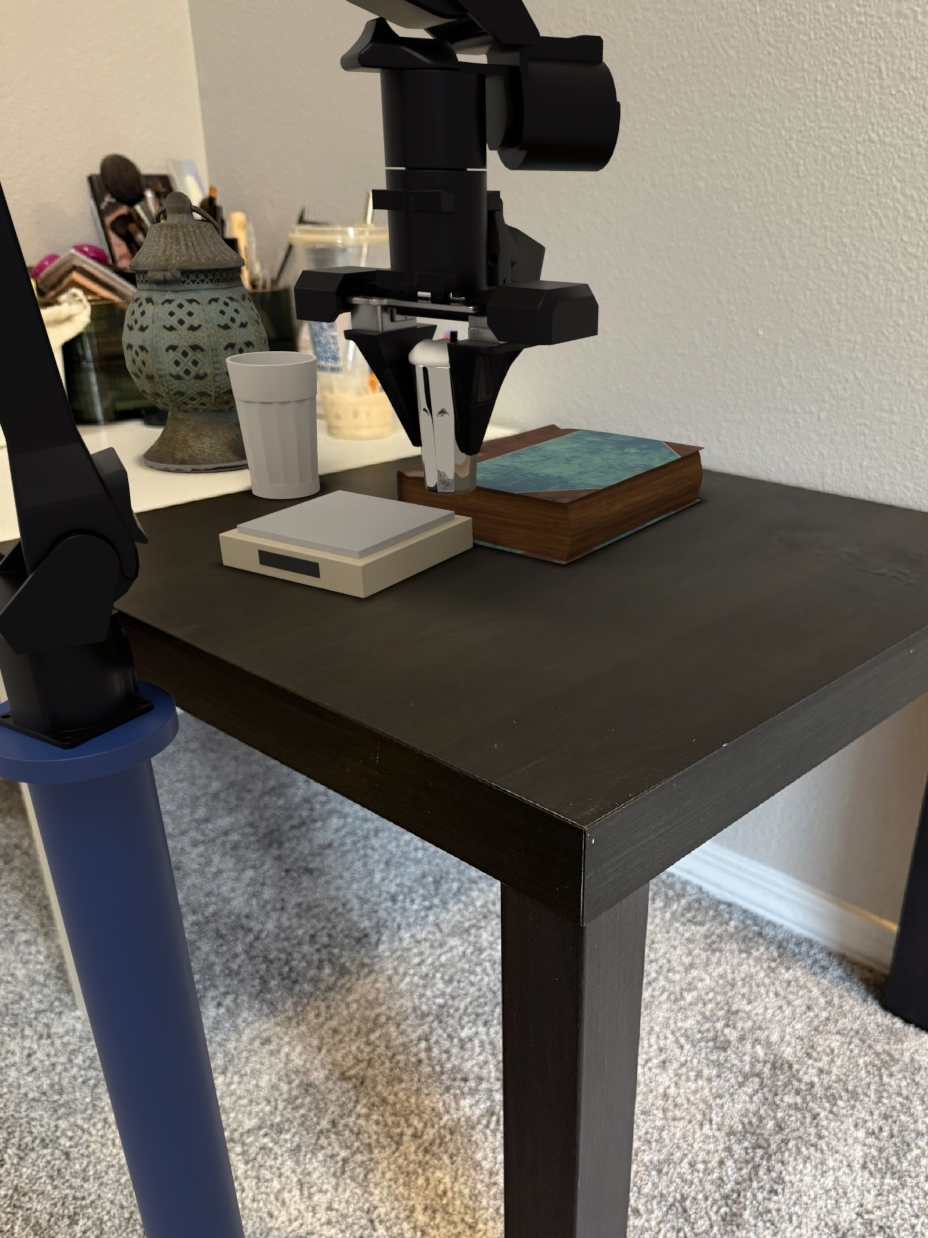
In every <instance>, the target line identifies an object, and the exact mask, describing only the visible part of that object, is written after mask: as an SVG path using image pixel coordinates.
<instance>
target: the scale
mask: <svg viewBox="0 0 928 1238" xmlns="http://www.w3.org/2000/svg"><path fill="white" fill-rule="evenodd" d="M218 537H219V544H220V545H219V546H220V550H221V558H222V564H223V566H227V567H231V568H234V569H239V570H243V571H247V572H251V573H255V574H259V575H265V576H268V577H273V578H277V579H281V580H285V581H289V582H293V583H298V584H301V585H306V586H310V587H315V588H319V589H323V590H328V591H330V592H336V593H340V594H344V595H348V596H353V597H357V598H361V599H365V598H368V597H370V596H372V595H375V594H376V593H378V592H380V591H382V590H385V589H387V588H389V587H392V586H393V585H395V584H398V583H400V582H402V581H404V580H405V579H408V578H410V577H412V576H414V575H416V574H419V573H421V572H424V571H426V570H427V569H430V568H432V567H433V566H434V567H435V566H436V565H438V564H441V563H442V562H444V561H447V560H448V559H451V558H452V557H454V556H457V555H459V554H462V553H463V552H466V551H468V550H470V549H472V548H474V544H473V537H472V518H471V517H465V516H460V515H455V512H454V511H449V510H444V509H438V508H433V507H427V506H422V505H417V504H411V503H406V502H400V501H398V500H395V499H390V498H384V497H377V496H372V495H369V494H368V495H367V494H363V493H357V492H352V491H346V490H341V489H339V490H335V491H332V492H330V493H327V494H325V495H324V494H323V495H321V496H318V497H316V498H313V499H310V500H307V501H304V502H301V503H299V504H295V505H292V506H289V507H287V508H284V509H280V510H278V511H275V512H272V513H268V514H266V515H263V516H260V517H257V518H254V519H252V520H248V521H246V522H242V523H239V524H237V525H236V528H233V529H230V530H227V531H224V532H222V533H218Z"/></svg>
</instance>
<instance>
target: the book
mask: <svg viewBox="0 0 928 1238" xmlns="http://www.w3.org/2000/svg"><path fill="white" fill-rule="evenodd" d="M704 449H705V447H703V446H700V445H699V446H698V445H692V444H686V443H679V442H673V441H666V440H661V439H660V440H659V439H653V438H648V437H640V436H634V435H628V434H621V433H615V432H614V433H613V432H607V431H599V430H592V429H591V430H590V429H583V428H570V427H569V428H566V427H565V428H561V427H559V426H558V425H556V424H555V423H551V424H548V425H544V426H541V427H537V428H534V429H530V430H528V431H524V432H521V433H518V434H515V435H511V436H508V437H505V438H501V439H497V440H494V441H491V442H487V443H484V444H482V446H481V449H480V451H479V453H478V457H477V477H476V489H475V490H473V491H471V492H470V493H467V494H460V495H438V494H435V493H431V492H428V491H427V489H426V487H425V482H424V473H423V464H422V462H420V463H417V464H413V465H410V466H407V467H404V468H400V469H397V471H396V493H397V501H400V502H406V503H411V504H417V505H422V506H427V507H433V508H438V509H444V510H449V511H454V512H455V515H460V516H465V517H471V518H472V537H473V545H478V546H481V547H486V548H491V549H495V550H498V551H504V552H508V553H512V554H516V555H521V556H525V557H529V558H534V559H537V560H541V561H547V562H551V563H555V564H559V565H567V564H570V563H572V562H574V561H576V560H578V559H580V558H582V557H585V556H587V555H589V554H591V553H593V552H595V551H597V550H600V549H602V548H604V547H606V546H608V545H610V544H613V543H615V542H617V541H618V540H621V539H622V538H625V537H627V536H629V535H631V534H633V533H636V532H637V531H639V530H642V529H644V528H646V527H648V526H650V525H652V524H654V523H657V522H659V521H661V520H663V519H666V518H667V517H670V516H671V515H674V514H677V513H678V512H680V511H682V510H684V509H687V508H688V507H691V506H693V505H695V504H697V503H699V502H701V501H702V499H700V498H698V496H699V492H700V488H701V486H702V483H703V475H704V472H703V465H702V455H701V453H700V451H702V450H704Z"/></svg>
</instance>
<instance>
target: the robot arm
mask: <svg viewBox="0 0 928 1238" xmlns="http://www.w3.org/2000/svg"><path fill="white" fill-rule="evenodd" d="M345 1H346V2H348V3H349V4H352V5H354V6H355V7H358V8H360V9H362V10H364V11H367V12H369V13H371V14H373V15H375V16H377V17H375V18H372V19H369V20H367V21H366V23H365V25H364V27H363V30H362V31H361V33H360V36H359V37H358V38H357V40H356V41H355V42H354V43H353V45H352V46H351V47H350V48H349V49H348V50H347V51H346V52H345V53H343V54H342V56H341V57H340V61H339V64H340V68H342V70H343V71H344V72H348V73H349V72H351V73H368V74H370V73H371V74H379V79H380V80H379V83H380V95H381V96H380V97H381V116H382V118H381V119H382V131H383V132H382V134H383V135H382V136H383V137H382V138H383V153H384V155H383V156H384V167H385V169H384V172H385V173H384V175H385V176H384V177H385V188H372V189H371V206H372V207H371V208H372V210H376V211H377V210H379V211H386V212H387V228H388V230H387V231H388V246H389V264H390V267H388V268H386V267H385V268H384V267H374V266H373V267H371V266H358V265H343V266H334V267H321V268H310V269H302V271H301V272H300V275H299V276H298V278H297V280H296V282H295V284H294V286H293V299H294V307H295V318H296V320H297V321H304V322H305V321H306V322H315V323H323V324H324V323H325V324H330V323H331V324H332V323H335V322H336V321H337V319H338V318H339V316H340V315H343V314H348V313H350V324H351V328H348V329H344V330H343V337H344V339H345V340H346V341H351V342H353V343H354V344H355V345H356V347H357V349H358V351H359V352H360V354H361V355H362V357H363V358H364V360H365V362H366V364H367V365H368V366H369V368H370V370H371V371H372V373H373V374H374V376H375V378H376V379H377V381H378V383H379V384H380V386H381V388H382V390H383V392H384V394H385V396H386V397H387V400H388V401H389V404H390V405H391V407H392V409H393V411H394V413H395V416H396V417H397V418H398V420H399V423H400V425H401V426H402V428H403V430H404V433H405V434H406V436H407V438H408V440H409V442H410V443H411V445H412V446H413V447H414V448H421V447H420V438H419V429H418V420H417V412H416V405H415V399H414V392H413V385H412V378H411V371H410V364H409V354H410V352H411V350H412V349H413V348H414V347H415V346H416V345H417V344H418V343H419V342H421V341H423V340H425V339H432V340H434V337H435V334H436V332H437V329H438V324H434V323H425V322H424V323H423V322H418V320H417V319H418V318H423V319H424V318H425V319H433V320H442V321H443V320H444V321H453V322H454V321H455V322H463V323H468V327H467V338H465V339H464V338H463V339H458V340H459V341H454V342H449V343H447V350H448V357H449V364H450V371H451V378H452V385H453V392H454V399H455V406H456V413H457V420H458V427H459V433H460V437H461V441H462V445H463V449H464V453H465V455H467V456H472V455H475V454H478V453H479V451H480V449H481V446H482V445H483V442H484V441H485V436H486V433H487V430H488V427H489V424H490V421H491V418H492V414H493V412H494V409H495V406H496V402H497V401H498V397H499V394H500V391H501V388H502V386H503V384H504V382H505V379H506V377H507V375H508V372H509V370H510V368H511V366H512V365H513V363H514V362H515V361H516V360H517V358H518V357H519V356H520V355H521V353H522V352H523V351H524V350H525V349H530V348H535V347H537V346H555V345H559V344H564V343H568V342H573V341H577V340H582V339H587V338H590V337H591V338H592V337H596V336H599V309H600V308H599V307H600V305H599V302H598V301H597V299H596V296H595V294H594V293H593V291H592V289H591V287H590V285H589V283H585V282H584V283H583V282H571V281H559V280H557V281H556V280H547V279H545V280H544V279H541V277H542V271H543V265H544V261H545V255H546V250H547V249H546V247H545V246H544V245H543V244H541V243H540V242H539V241H537V240H536V239H535V238H532V237H531V236H530V235H529V234H526V232H524V231H522V230H520V229H519V228H517V227H515V226H512V225H510V224H507V223H506V221H505V218H504V201H503V199H502V198H501V190H493V189H490V190H489V189H488V171H487V169H488V151H493V152H494V151H496V153H497V156H498V158H499V160H500V162H501V163H502V165H503V166H504V168H506V169H507V170H509V171H527V172H529V171H530V172H532V171H533V172H586V173H587V172H593V173H594V172H597V173H598V172H600V171H602V170H603V169H605V167H606V166H607V165H608V164H610V163H609V162H610V161H611V160H612V159H611V158H612V157H613V156H614V152H615V149H616V147H617V143H618V139H619V134H620V129H621V128H620V127H621V126H620V125H621V117H622V116H621V114H622V113H621V110H622V109H621V108H622V107H621V106H622V105H621V102H620V101H619V100H618V95H617V87H616V83H615V80H614V76H613V74H612V72H611V69H610V68H609V66H608V65H607V64H606V61H605V62H604V39H603V37H602V36H601V35H594V34H580V35H574V36H568V37H563V36H562V37H561V36H548V35H541V32H540V30H539V28H538V27H537V25H536V23H535V21H534V19H533V17H532V15H531V14H530V12H529V10H528V8H527V6H526V5H525V3H524V1H523V0H345ZM389 23H391V24H393V25H396V26H397V27H401V28H403V29H408V30H423V31H424V32H425V33H426V34H428V35H429V36H430V37H431V38H430V37H413V36H400V35H399V34H398V33H397V32H396V31H395V30H394V29H393V28H392V27H391V25H390V24H389ZM457 55H464V56H483V55H484V56H486V63H484V62H471V61H463V60H459V58H458V56H457ZM420 293H422V294H420ZM423 293H427V294H423ZM43 317H44V316H43V314H42V311H41V308H40V304H39V301H38V298H37V295H36V292H35V288H34V285H33V282H32V279H31V276H30V272H29V269H28V266H27V262H26V259H25V257H24V252H23V249H22V247H21V242H20V240H19V237H18V233H17V231H16V227H15V224H14V221H13V217H12V214H11V211H10V208H9V205H8V202H7V199H6V195H5V192H4V188H3V185H2V182H1V181H0V428H1V431H2V434H3V438H4V441H5V446H6V453H7V454H6V455H7V460H8V461H7V462H8V468H9V473H10V481H11V487H12V494H13V499H14V507H15V514H16V519H17V526H18V532H19V538H18V540H17V541H16V542H15V543H14V544H13V546H12V547H11V548H10V549H9V550H8V552H7V553H6V554H5V556H4V557H3V558H2V559H1V560H0V675H1V679H2V683H3V687H4V690H5V694H6V698H7V700H8V702H9V706H10V710H11V711H8V712H6V713H4V714H1V715H0V726H1V727H4V728H7V729H9V730H12V731H15V732H17V733H20V734H23V735H26V736H28V737H31V738H34V739H36V740H39V741H42V742H44V743H47V744H50V745H52V746H55V747H58V748H60V749H64V750H68V749H73V748H75V747H77V746H79V745H82V744H84V743H86V742H88V741H90V740H92V739H94V738H96V737H98V736H100V735H102V734H104V733H106V732H109V731H111V730H113V729H115V728H117V727H119V726H121V725H123V724H125V723H127V722H129V721H131V720H133V719H136V718H138V717H140V716H142V715H144V714H146V713H148V712H150V711H152V710H153V709H154V704H153V701H152V700H149V699H146V698H143V697H140V696H137V695H135V693H137V692H138V690H139V686H138V681H137V679H138V678H137V671H136V666H135V661H134V660H135V659H134V656H133V655H134V654H133V651H132V646H131V641H130V636H129V635H130V634H129V632H128V631H127V630H126V629H124V628H122V627H123V626H122V623H121V618H120V613H119V610H118V609H114V606H115V605H114V604H115V603H116V602H117V601H118V600H120V599H121V598H122V597H124V596H125V595H126V594H128V592H129V590H130V589H131V587H132V586H133V584H134V583H135V581H136V580H137V579H138V577H139V573H140V566H141V565H140V557H139V549H138V547H137V545H136V543H139V544H142V545H147V544H148V543H149V538H148V536H147V534H146V532H145V531H144V528H143V527H142V525H141V522H140V521H139V519H138V516H137V514H136V513H135V511H134V509H133V508H132V507H133V506H132V498H131V491H130V490H131V488H130V481H129V474H128V471H127V469H126V467H125V466H124V463H123V462H122V460H121V458H120V456H119V455H118V453H117V451H116V449H115V448H114V447H113V446H109V447H107V448H104V449H100V450H98V451H96V452H93V453H91V452H90V450H89V448H88V446H87V444H86V442H85V440H84V438H83V436H82V434H81V433H80V431H79V429H78V427H77V423H76V421H75V417H74V414H73V411H72V408H71V404H70V401H69V398H68V395H67V392H66V388H65V384H64V382H63V378H62V376H61V372H60V368H59V366H58V363H57V359H56V356H55V352H54V350H53V346H52V343H51V340H50V336H49V333H48V330H47V327H46V324H45V321H44V318H43Z"/></svg>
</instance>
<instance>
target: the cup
mask: <svg viewBox="0 0 928 1238" xmlns="http://www.w3.org/2000/svg"><path fill="white" fill-rule="evenodd" d="M226 363H227V367H228V372H229V376H230V381H231V386H232V390H233V395H234V397H235V402H236V407H237V412H238V417H239V422H240V427H241V432H242V437H243V442H244V447H245V452H246V456H247V461H248V466H249V467H248V471H249V476H250V484H251V492H252V494H253V495H254V496H257V497H259V498H264V499H272V500H288V499H290V500H291V499H298V498H304V497H305V498H306V497H308V496H313V495H314V494H317V493H319V491H320V490H321V486H320V485H321V483H320V474H319V460H318V459H319V458H318V457H319V456H318V454H319V453H318V418H317V417H318V416H317V415H318V414H317V413H318V412H317V395H318V358H317V356H316V355H315V354H311V353H307V352H300V351H286V350H285V351H284V350H283V351H277V350H276V351H275V350H274V351H269V352H253V353H245V354H238V355H234V356H231V357H228V358H227V359H226Z"/></svg>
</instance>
